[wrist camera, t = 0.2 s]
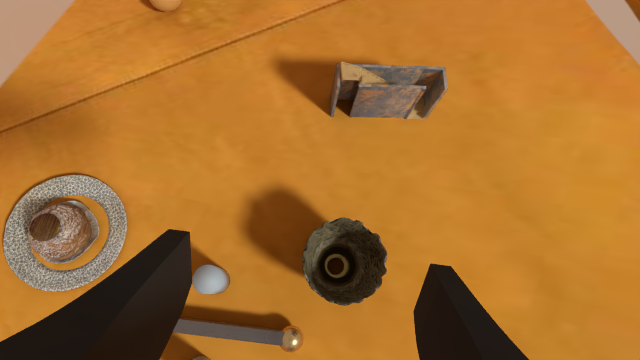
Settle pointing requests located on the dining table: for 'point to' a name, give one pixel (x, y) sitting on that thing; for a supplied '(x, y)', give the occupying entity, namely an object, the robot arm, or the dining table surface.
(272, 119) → the dining table surface
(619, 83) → the dining table surface
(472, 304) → the robot arm
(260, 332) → the rail
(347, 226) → the cup
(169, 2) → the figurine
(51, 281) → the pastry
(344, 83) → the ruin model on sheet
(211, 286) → the grey rounded cylinder
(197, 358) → the post inner
